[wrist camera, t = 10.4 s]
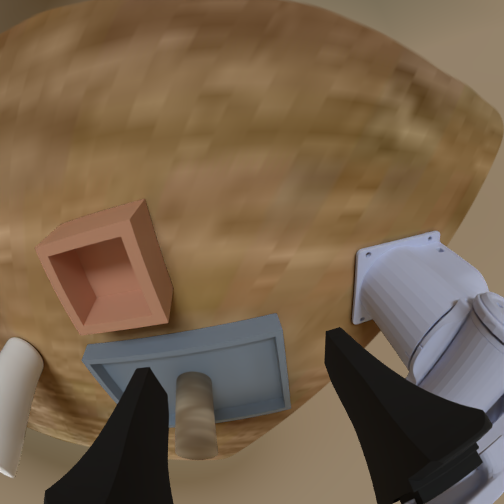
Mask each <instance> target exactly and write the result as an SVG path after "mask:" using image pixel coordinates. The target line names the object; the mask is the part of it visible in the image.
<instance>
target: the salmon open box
mask: <svg viewBox="0 0 504 504" xmlns="http://www.w3.org/2000/svg"><path fill="white" fill-rule="evenodd" d="M35 250H36V252H37V254H38V257H39V259H40V261H41V264H42V266H43V268H44V270H45V272H46V274H47V276H48V278H49V280H50V282H51V284H52V286H53V288H54V290H55V292H56V294H57V296H58V298H59V300H60V302H61V303H62V305H63V307H64V309H65V311H66V312H67V314H68V316H69V318H70V319H71V321H72V323H73V324H74V326H75V328H76V329H77V331H78V332H79V334H80V335H87V334H96V333H103V332H111V331H118V330H126V329H132V328H139V327H146V326H152V325H158V324H164V323H169V315H170V308H171V301H172V294H173V286H172V283H171V280H170V277H169V274H168V271H167V268H166V265H165V263H164V260H163V257H162V253H161V250H160V247H159V244H158V241H157V238H156V235H155V231H154V228H153V225H152V222H151V218H150V215H149V211H148V208H147V204H146V201H145V199H142V200H138V201H135V202H131V203H127V204H124V205H120V206H117V207H113V208H110V209H107V210H103V211H100V212H97V213H93V214H90V215H87V216H84V217H81V218H78V219H75V220H72V221H69V222H66V223H63V224H60V225H59V226H58V227H57V228H56V229H55V230H54V231H52V232H51V233H50V234H49V235H48V236H47V237H46V238H45V239H44V240H42V241H41V242H40V243H39V244H38V245H37V246H36V247H35Z"/></svg>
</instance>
